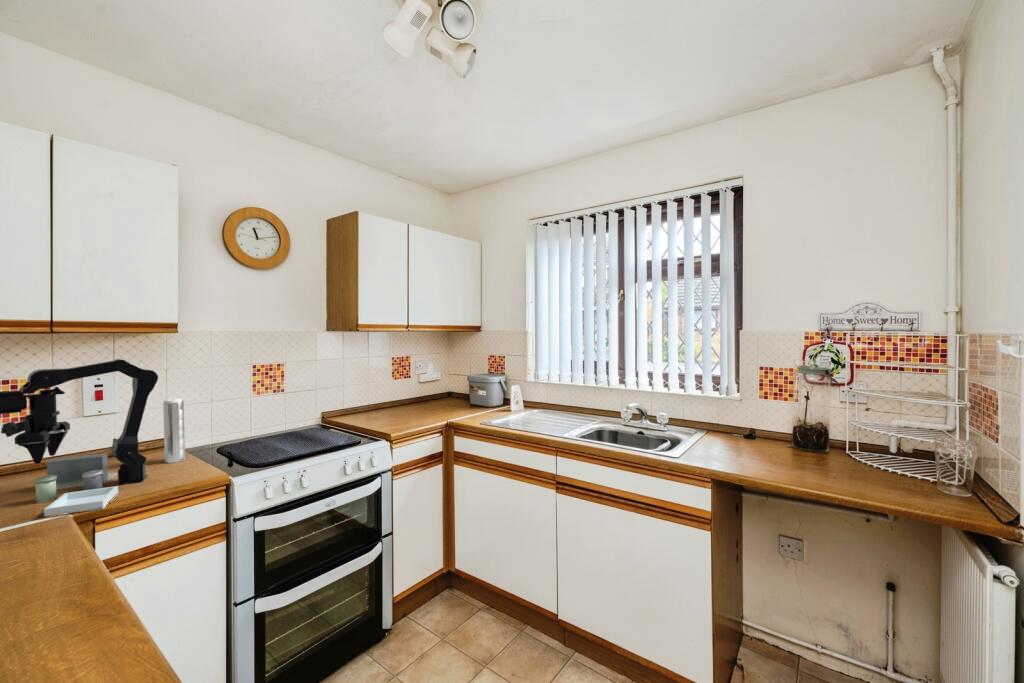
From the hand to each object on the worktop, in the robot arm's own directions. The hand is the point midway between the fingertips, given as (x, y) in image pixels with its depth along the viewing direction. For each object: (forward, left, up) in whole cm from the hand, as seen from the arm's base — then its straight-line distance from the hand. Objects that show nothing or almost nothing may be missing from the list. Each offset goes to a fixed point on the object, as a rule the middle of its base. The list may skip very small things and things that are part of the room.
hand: (45, 459), depth 136 cm
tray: (-12, +11, -13) cm, 21 cm away
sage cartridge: (0, 0, -13) cm, 13 cm away
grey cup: (-11, 0, -13) cm, 17 cm away
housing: (-3, -15, -13) cm, 20 cm away
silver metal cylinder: (-27, -31, -13) cm, 43 cm away
